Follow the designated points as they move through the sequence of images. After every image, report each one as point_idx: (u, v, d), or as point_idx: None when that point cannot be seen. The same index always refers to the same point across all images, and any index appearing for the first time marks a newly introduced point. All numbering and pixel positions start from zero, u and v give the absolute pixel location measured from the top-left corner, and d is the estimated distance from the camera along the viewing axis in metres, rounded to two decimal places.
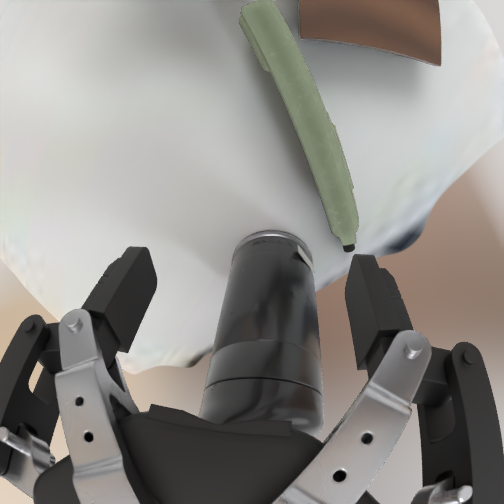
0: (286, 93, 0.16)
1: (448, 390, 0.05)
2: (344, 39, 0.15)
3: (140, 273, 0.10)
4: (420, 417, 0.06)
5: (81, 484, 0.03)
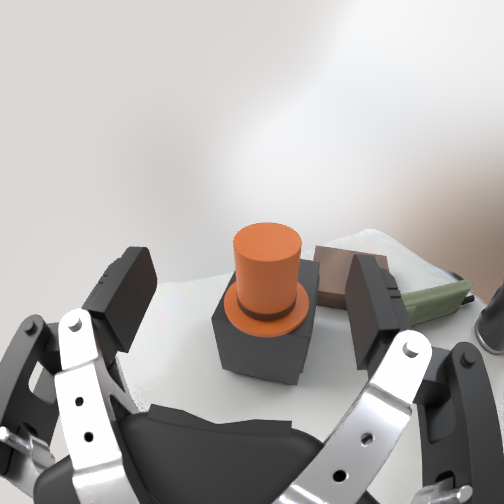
0: (424, 298, 0.35)
1: (448, 390, 0.05)
2: None
3: (140, 273, 0.10)
4: (420, 417, 0.06)
5: (81, 484, 0.03)
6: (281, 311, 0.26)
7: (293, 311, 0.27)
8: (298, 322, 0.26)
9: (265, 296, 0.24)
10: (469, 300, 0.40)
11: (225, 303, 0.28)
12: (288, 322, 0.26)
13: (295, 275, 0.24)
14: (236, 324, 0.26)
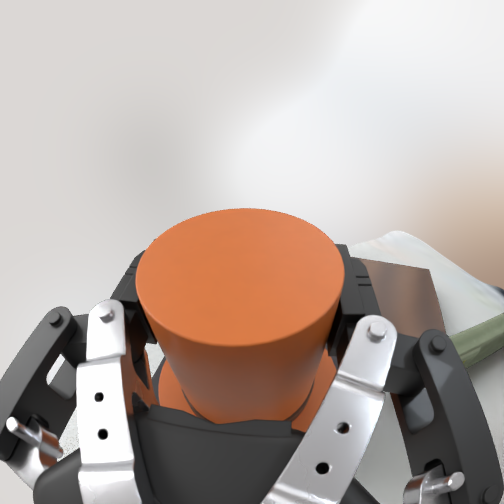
0: (491, 335, 0.19)
1: (421, 379, 0.06)
2: (441, 317, 0.25)
3: None
4: (396, 408, 0.06)
5: (81, 484, 0.03)
6: None
7: (305, 410, 0.11)
8: None
9: (234, 410, 0.08)
10: None
11: (161, 384, 0.12)
12: None
13: (320, 357, 0.08)
14: None
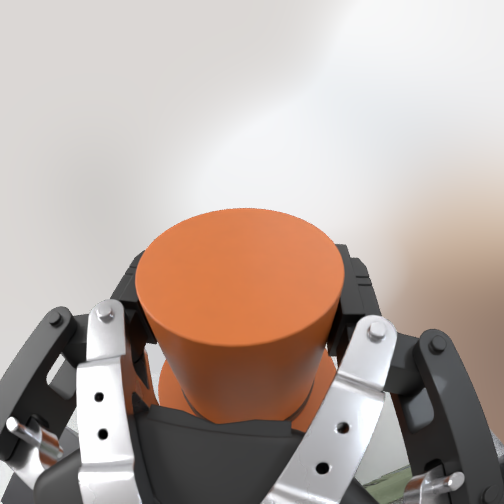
0: None
1: (421, 379, 0.06)
2: None
3: None
4: (396, 408, 0.06)
5: (81, 484, 0.03)
6: None
7: (305, 410, 0.11)
8: None
9: (233, 410, 0.08)
10: None
11: (161, 384, 0.12)
12: None
13: (319, 357, 0.08)
14: None
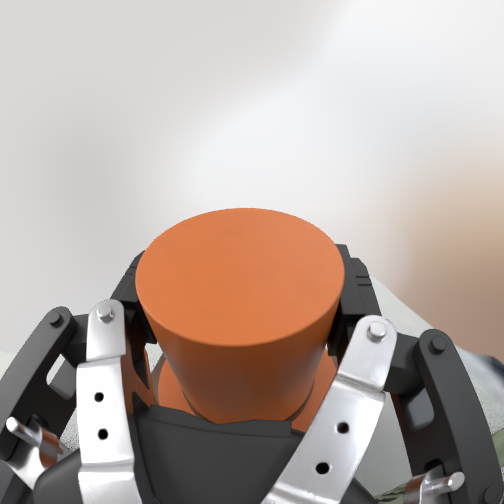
0: None
1: (421, 379, 0.06)
2: None
3: None
4: (396, 408, 0.06)
5: (81, 484, 0.03)
6: None
7: (305, 410, 0.11)
8: None
9: (234, 410, 0.08)
10: None
11: (161, 384, 0.12)
12: None
13: (320, 357, 0.08)
14: None
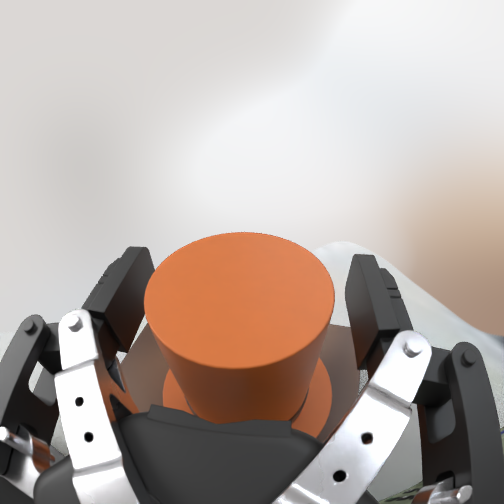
0: None
1: (448, 390, 0.05)
2: None
3: (140, 273, 0.10)
4: (420, 417, 0.06)
5: (81, 484, 0.03)
6: None
7: (300, 417, 0.12)
8: None
9: (234, 419, 0.08)
10: None
11: (165, 392, 0.13)
12: None
13: (312, 371, 0.09)
14: None
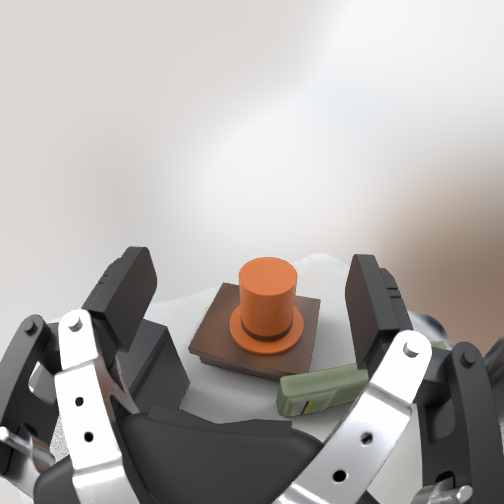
0: (354, 380, 0.23)
1: (448, 390, 0.05)
2: (310, 351, 0.29)
3: (140, 273, 0.10)
4: (420, 417, 0.06)
5: (81, 484, 0.03)
6: (279, 333, 0.30)
7: (289, 332, 0.31)
8: (294, 342, 0.30)
9: (265, 322, 0.28)
10: None
11: (230, 325, 0.32)
12: (285, 342, 0.30)
13: (291, 304, 0.28)
14: (240, 344, 0.30)
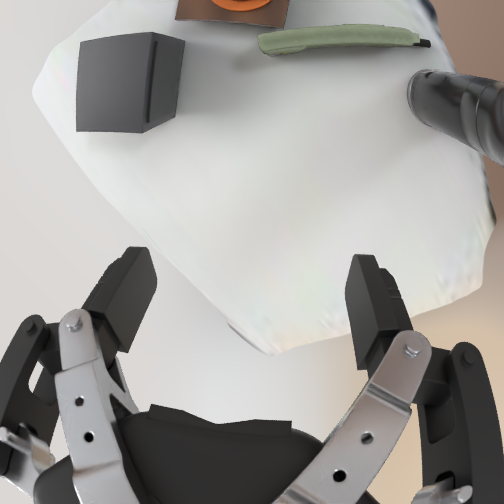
0: (321, 41, 0.23)
1: (448, 390, 0.05)
2: (286, 6, 0.23)
3: (140, 273, 0.10)
4: (420, 417, 0.06)
5: (81, 484, 0.03)
6: None
7: None
8: None
9: None
10: (420, 45, 0.24)
11: None
12: (261, 0, 0.22)
13: None
14: (220, 6, 0.23)
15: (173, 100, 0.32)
